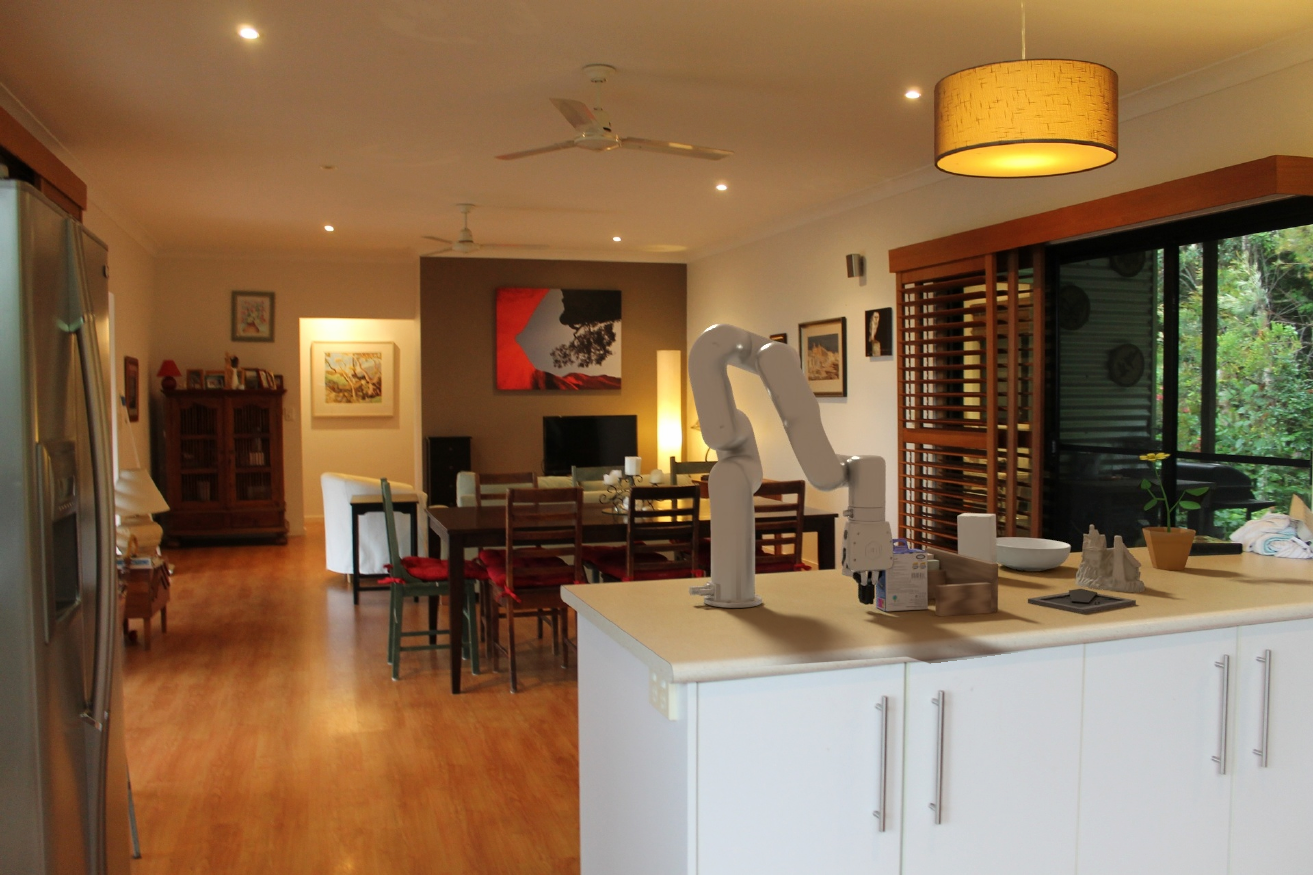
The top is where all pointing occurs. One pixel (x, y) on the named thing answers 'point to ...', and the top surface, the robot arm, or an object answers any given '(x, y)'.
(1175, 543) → the potted plant
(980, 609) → the book rack
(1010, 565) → the serving bowl
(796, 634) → the top surface
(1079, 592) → the picture frame
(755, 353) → the robot arm
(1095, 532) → the ceramic cottage
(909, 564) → the ink cartridge box
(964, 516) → the skincare box
